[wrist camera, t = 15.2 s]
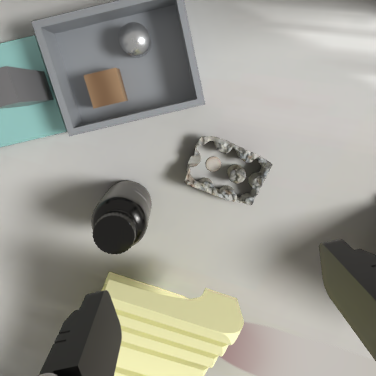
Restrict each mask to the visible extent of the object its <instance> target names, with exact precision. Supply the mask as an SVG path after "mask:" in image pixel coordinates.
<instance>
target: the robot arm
mask: <svg viewBox="0 0 376 376" xmlns="http://www.w3.org/2000/svg"><path fill="white" fill-rule="evenodd" d="M319 251H320V259H321V267H322V275H323V282H324V286H325V289H326V291H327V293H328V295H329V297H330V299H331V300H332V301H333V303H334V304H335V305H336V307H337V308H338V310H339V311H340V312H341V314H342V315H343V317H344V318H345V319H346V321H347V322H348V323H349V325H350V326H351V328H352V329H353V330H354V332H355V333H356V335H357V336H358V337H359V339H360V340H361V341H362V343H363V344H364V346H365V347H366V348H367V350H368V351H369V352H370V354H371V355H372V357H373V358H374V359H375V361H376V256H375V255H374V254H372V253H369V252H367V251H364V250H362V249H357V250H353V249H352V248H351V247H350V246H349V245H348V244H347V243H346V242H345V241H343V240H342V239H338V240H333V241H329V242H324V243H320V245H319ZM121 340H122V331H121V325H120V322H119V319H118V316H117V313H116V311H115V308H114V305H113V302H112V299H111V296H110V294H109V292H108V291H107V290H104V291H100V292H95V293H91V294H87V295H86V296H85V298H84V300H83V303H82V305H81V307H80V309H79V310H76V311H74V312H73V313H72V314H71V315H70V316H69V317H68V318H67V319H66V320H65V321H64V323H63V325H62V327H61V330H60V332H59V335H58V336H57V338H56V340H55V344H53V346H52V348H51V351H50V353H49V355H48V357H47V359H46V361H45V363H44V365H43V367H42V369H41V372H40V374H39V375H38V376H114V373H115V369H116V364H117V359H118V355H119V350H120V345H121Z"/></svg>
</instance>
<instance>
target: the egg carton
mask: <svg viewBox="0 0 376 376" xmlns="http://www.w3.org/2000/svg"><path fill="white" fill-rule="evenodd" d="M209 141H214V144H215V147H216V148H217V149H218V150H219V151H220V152H222V153H225V154H227V153H229V152H230V151H231V149H232V148H234V149H235V150H236V151H237V155H238V156H239V157H240V158H241V159H242V160H243V161H244V162H247V163H249V162H252V161H253V160H255V159H258V162H259V164H260V165H261V166H262V168H261V170H260V171H258V172H255V173H253V174H251V175H250V176H249V179H248V181H249V184H250V185H251V187H252V191H251V193H245V194H243V195H241V197H237V195H236V193H235V191H234V190H233V188H232V187H230V186H223V187H221V188H220V189H217V188H215V187H214V185H213V183H212V181H211V180H210V179H208V178H202V179H200V180H199V181H198V182H197V181H196V180H194V179H193V178H192V177H191V174H190V167H194V166H197V165H198V164H199V163H200V160H201V156H200V154H199V152H198V151H197V150H196V148H197V146H198V145H205V144H206V143H207V142H209ZM271 166H272V164H271V163H270V162H269V161H267V160H266V159H264V158H262V157H260V156H259V155H257V154H254V153H252V152H250V151H247V150H245V149H243V148H241V147H239V146H237V145H235V144H232V143H230V142H228V141H226V140H223V139H220V138H217V137H212V136H210V137H201V138H200V140H199V142H197V144H196V146H195V154H194V155H192V156H191V157H190V160H189V162H188V167H187V169H186V170H187V175H186V179H185V182H186V184H188V185H190V186H192V187H195V188H197V189H199V190H202V191H206V192H208V193H210V194H212V195H215V196H218V197H220V198H223V199H225V200H228V201H233V202H239V203H245V204H248V205H252V204H253V201H254V198H255V197H256V195H257V194H258V192H259V190H260V188H261V186H262V184H263V182H264V181H265V179H266V177H267V174H268V172H269V170H270V168H271ZM206 168H207V169H208V170H209V171H212V172H215V171H218V170H219V169H220V168H221V161H220V159H219V158H217V157H210V158H208V159H207V161H206ZM227 174H228V176H229V178H230V181H231V182H234V183H236V184H239V183H241V182H243V181H244V180H245V178H246V172H245V170H244V169H243V168H242V167H241V166H240V165H237V164H235V165H232V166H230V167H229V168H228V170H227Z"/></svg>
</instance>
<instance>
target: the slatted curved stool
mask: <svg viewBox="0 0 376 376" xmlns="http://www.w3.org/2000/svg"><path fill="white" fill-rule="evenodd" d="M104 290H107V291H108V292H109V294H110V296H111V299H112V302H113V305H114V308H115V311H116V313H117V316H118V319H119V322H120V325H121V331H122V340H121V345H120V350H119V355H118V359H117V364H116V369H115V373H114V376H204V375H205V373H206V371H207V369H208V367H210V368H212V367H213V365H214V364H215V362H216V360H217V358H218V356H223V354H224V352H225V351H226V349H227V347H228V345H232V344H233V343H234V342H235V341H236V339H237V337H238V335H239V333H240V331H241V329H242V327H243V323H244V321H243V317H242V314H241V311H240V307H239V304H238V301H237V299H236V298H234V297H231V296H228V295H225V294H222V293H219V292H216V291H213V290H210V289H207V288H205V290H204V293H203V295H202V296H200V297H198V298H194V299H187V298H186V297H184V296H182V295H179V294H176V293H173V292H170V291H167V290H164V289H161V288H157V287H154V286H151V285H148V284H145V283H142V282H139V281H136V280H133V279H130V278H127V277H124V276H121V275H118V274H115V273H112V272H109V273H108V275H107V278H106V281H105V283H104V286H103V288H102V291H104Z"/></svg>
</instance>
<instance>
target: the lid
mask: <svg viewBox="0 0 376 376" xmlns="http://www.w3.org/2000/svg"><path fill="white" fill-rule="evenodd" d="M62 132H67V128H66V125H65V122H64V119H63V116H62V113H61V110H60V107H59V104H58V101H57V98H56V95H55V92H54V89H53V86H52V83H51V80H50V77H49V74H48V71H47V68H46V65H45V62H44V59H43V56H42V53H41V50H40V47H39V43H38V40H37V37H36V36H35V35H33V36H29V37H25V38H21V39H17V40H13V41H9V42H5V43H1V44H0V147H4V146H8V145H12V144H16V143H20V142H25V141H29V140H33V139H37V138H41V137H46V136H50V135H54V134H58V133H62Z"/></svg>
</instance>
